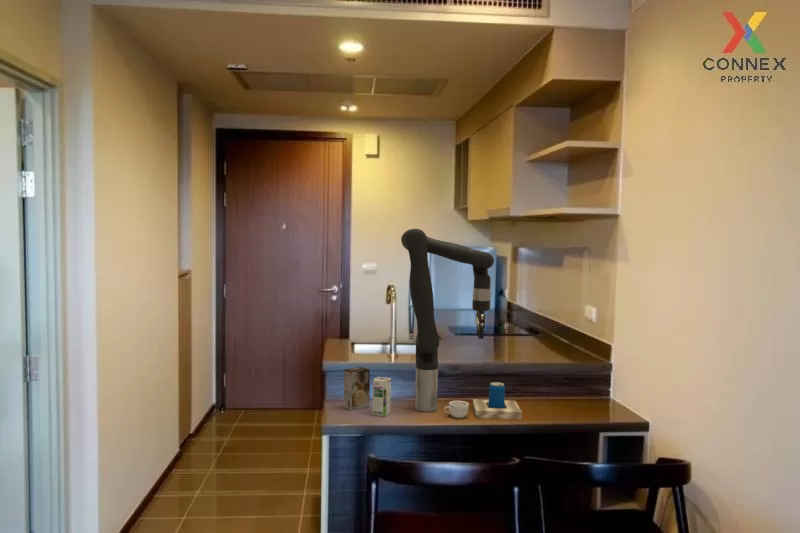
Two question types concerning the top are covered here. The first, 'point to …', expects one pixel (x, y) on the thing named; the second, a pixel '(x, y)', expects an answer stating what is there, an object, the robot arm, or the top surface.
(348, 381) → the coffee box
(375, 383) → the syrup box
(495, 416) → the holder plate
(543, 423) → the top surface
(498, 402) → the beverage can
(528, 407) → the top surface
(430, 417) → the top surface
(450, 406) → the teacup
